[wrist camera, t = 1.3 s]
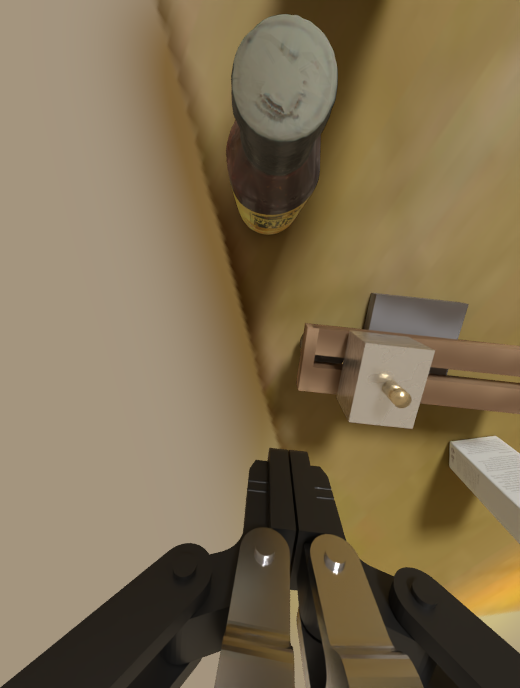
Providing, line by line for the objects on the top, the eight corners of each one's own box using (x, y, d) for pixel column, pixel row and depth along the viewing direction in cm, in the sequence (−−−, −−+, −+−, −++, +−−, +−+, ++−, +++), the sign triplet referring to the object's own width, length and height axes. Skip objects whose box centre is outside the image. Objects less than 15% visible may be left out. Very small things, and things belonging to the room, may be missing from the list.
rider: (344, 325, 25) (376, 351, 18) (398, 331, 25) (453, 359, 18) (331, 389, 27) (356, 437, 20) (382, 395, 27) (426, 444, 20)
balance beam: (301, 285, 32) (313, 292, 23) (528, 309, 32) (622, 325, 23) (287, 382, 35) (293, 419, 26) (493, 404, 35) (564, 448, 26)
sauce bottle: (257, 247, 31) (241, 217, 11) (228, 192, 29) (152, 54, 10) (311, 215, 30) (390, 122, 10) (283, 156, 28) (315, -74, 9)
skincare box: (447, 467, 38) (527, 556, 26) (448, 440, 36) (531, 520, 25) (494, 461, 37) (596, 550, 26) (496, 434, 36) (604, 513, 24)
